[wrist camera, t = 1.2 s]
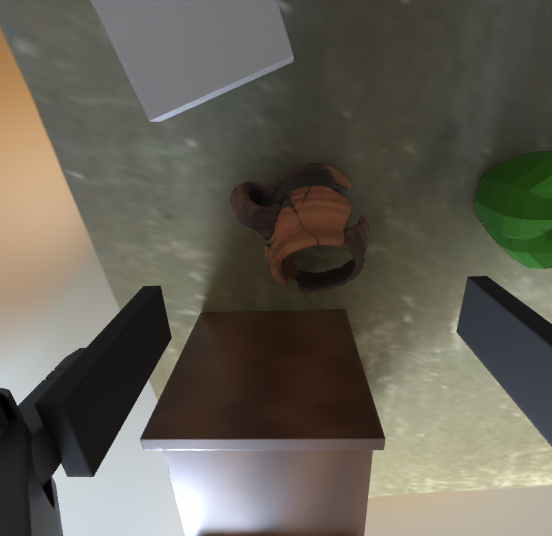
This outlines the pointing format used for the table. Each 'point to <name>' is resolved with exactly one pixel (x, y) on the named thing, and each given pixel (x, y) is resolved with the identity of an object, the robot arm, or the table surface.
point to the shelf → (268, 426)
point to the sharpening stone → (193, 47)
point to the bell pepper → (519, 207)
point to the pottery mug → (303, 222)
